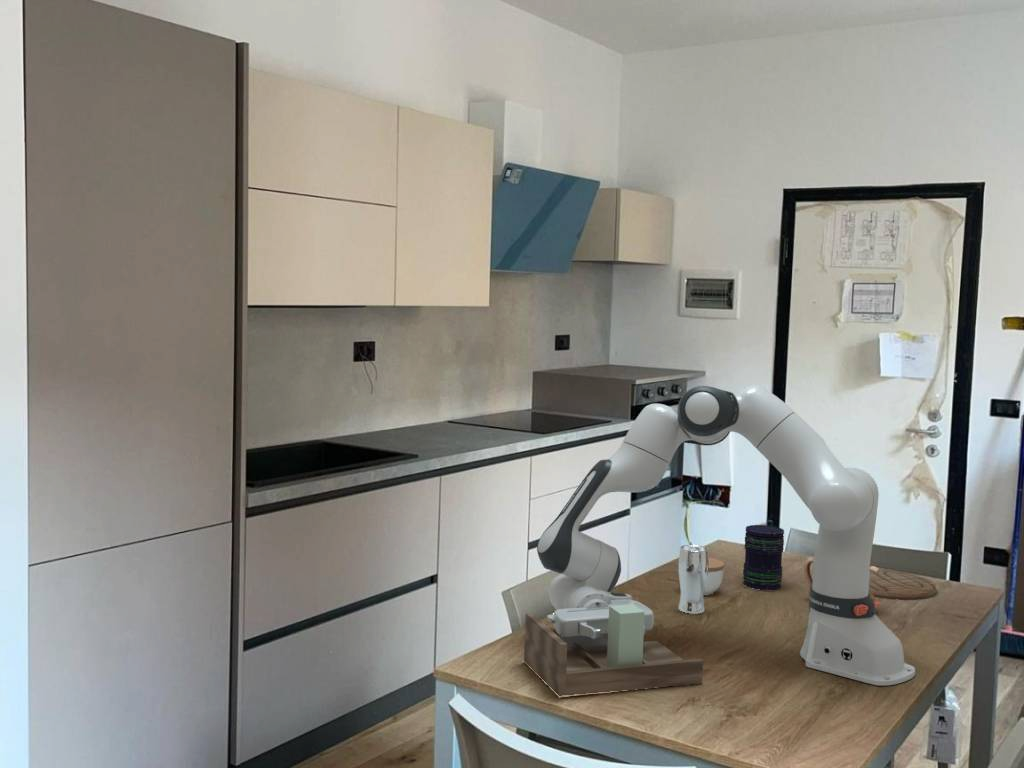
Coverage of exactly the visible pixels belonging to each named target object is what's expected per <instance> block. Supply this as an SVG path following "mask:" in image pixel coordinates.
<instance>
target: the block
mask: <svg viewBox="0 0 1024 768" xmlns="http://www.w3.org/2000/svg"><path fill="white" fill-rule="evenodd" d="M644 614H645V612H644V611H642V610H641V609H639V608H638V607H636V606H635V605H633V604H629V605H616V606H609V624H608V634H607V639H608V649H607V667H616V666H626V665H637V664H642V661H643V642H644V635H645V634H644Z"/></svg>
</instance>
